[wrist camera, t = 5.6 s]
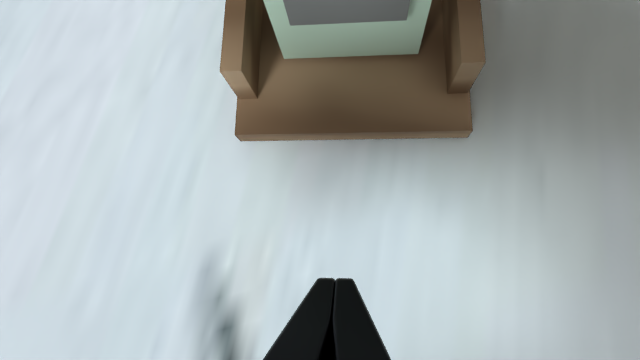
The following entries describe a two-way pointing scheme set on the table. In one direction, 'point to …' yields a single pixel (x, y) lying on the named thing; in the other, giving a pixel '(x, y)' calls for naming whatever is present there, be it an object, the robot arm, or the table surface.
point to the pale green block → (347, 27)
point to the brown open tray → (353, 81)
